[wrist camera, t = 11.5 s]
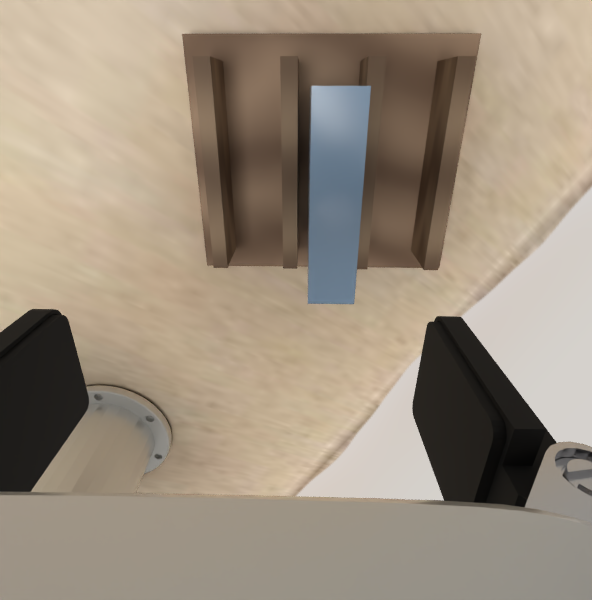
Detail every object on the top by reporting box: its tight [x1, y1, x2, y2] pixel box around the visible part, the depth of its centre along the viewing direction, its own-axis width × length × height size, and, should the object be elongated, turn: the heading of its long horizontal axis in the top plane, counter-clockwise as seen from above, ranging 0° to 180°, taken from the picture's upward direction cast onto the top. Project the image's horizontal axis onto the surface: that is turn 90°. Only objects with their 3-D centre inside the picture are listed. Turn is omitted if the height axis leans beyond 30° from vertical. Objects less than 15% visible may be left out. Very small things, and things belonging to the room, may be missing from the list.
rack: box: [182, 34, 481, 270], centre depth 28 cm, size 16×19×5 cm
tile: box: [308, 86, 371, 304], centre depth 24 cm, size 10×2×12 cm, turn 0°
